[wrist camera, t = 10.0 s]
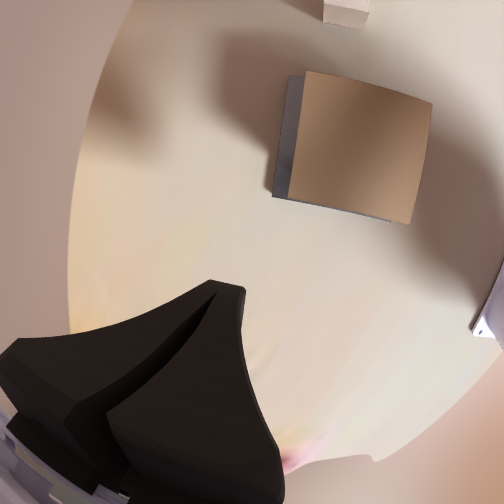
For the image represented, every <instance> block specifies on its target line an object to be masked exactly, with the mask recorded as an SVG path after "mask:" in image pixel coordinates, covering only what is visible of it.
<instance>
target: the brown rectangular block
mask: <svg viewBox="0 0 504 504" xmlns="http://www.w3.org/2000/svg"><path fill="white" fill-rule="evenodd" d="M431 112H432V104H431V103H428V102H425V101H423V100H420V99H417V98H414V97H412V96H409V95H406V94H403V93H400V92H396V91H393V90H390V89H387V88H383V87H380V86H376V85H372V84H369V83H365V82H361V81H357V80H352V79H348V78H343V77H339V76H334V75H329V74H323V73H317V72H311V71H306V76H305V84H304V92H303V99H302V106H301V113H300V121H299V127H298V134H297V141H296V148H295V154H294V161H293V167H292V174H291V180H290V186H289V192H288V198H291V199H296V200H302V201H307V202H312V203H317V204H322V205H326V206H331V207H336V208H340V209H345V210H350V211H354V212H358V213H363V214H367V215H371V216H375V217H380V218H384V219H388V220H392V221H396V222H400V223H403V224H407V225H409V224H410V220H411V216H412V213H413V209H414V205H415V201H416V197H417V193H418V188H419V184H420V179H421V175H422V170H423V165H424V159H425V154H426V148H427V142H428V135H429V128H430V121H431Z"/></svg>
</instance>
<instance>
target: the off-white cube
mask: <svg viewBox="0 0 504 504" xmlns="http://www.w3.org/2000/svg"><path fill="white" fill-rule="evenodd" d="M368 14H369V0H324V11H323V22H324V23H330V24H335V25H341V26H346V27H350V28H355V29H359V30H362V28H363V26H364V23H365V21H366V19H367V17H368Z"/></svg>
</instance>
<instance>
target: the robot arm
mask: <svg viewBox="0 0 504 504" xmlns="http://www.w3.org/2000/svg"><path fill="white" fill-rule="evenodd" d="M245 296H246V290H245V288H244V287H241V286H237V285H232V284H228V283H224V282H219V281H215V280H211V279H210V280H208V281H206V282H204V283H202V284H200V285H199V286H197V287H195V288H193V289H192V290H190V291H188V292H186V293H184V294H183V295H181V296H179V297H177V298H175V299H173V300H172V301H170V302H168V303H165V304H163V305H161V306H159V307H157V308H155V309H153V310H151V311H149V312H147V313H144V314H142V315H139V316H137V317H134V318H132V319H129V320H126V321H123V322H120V323H117V324H114V325H110V326H107V327H103V328H99V329H95V330H91V331H87V332H82V333H76V334H71V335H63V336H55V337H43V338H42V337H41V338H18V339H17V340H16V341H14V342H13V343H12V344H11V345H10V346H9V347H8V348H7V349H6V350H5V351H4V352H3V353H2V354H1V355H0V386H1V388H2V389H3V391H4V392H5V394H6V395H7V397H8V398H9V399H10V401H11V402H12V403H13V405H14V406H15V408H16V409H17V410H18V412H17V413H16V415H15V416H14V417H13V418H11V417H10V416H9V415H8V414H7V413H6V412H5V411H4V410H3V409H2V408H1V407H0V504H63V503H62V502H60V501H59V500H57V499H56V498H54V497H53V496H52V495H50V494H49V493H50V491H51V490H52V488H53V487H54V486H53V484H52V483H51V482H50V481H48V480H47V479H46V478H45V477H43V476H42V475H41V474H40V473H39V472H37V471H36V470H35V469H34V468H33V467H31V466H30V465H29V464H28V463H27V462H26V461H24V460H23V459H22V458H21V457H20V456H19V455H18V454H17V453H16V451H15V444H16V445H17V446H18V447H19V448H21V450H22V451H23V452H25V453H26V454H27V455H28V456H29V457H30V458H31V459H32V460H34V461H35V462H36V463H37V464H38V465H40V466H41V467H42V468H43V469H44V470H46V471H47V472H48V473H50V474H51V475H52V476H53V477H55V478H56V479H58V480H59V481H60V482H62V483H63V484H64V485H66V486H67V487H69V488H70V489H72V490H73V491H74V492H76V493H78V494H79V495H81V496H82V497H84V498H85V499H87V500H88V501H90V502H92V503H93V504H282V503H283V501H284V497H285V482H284V474H283V467H282V462H281V457H280V452H279V448H278V446H277V444H276V442H275V440H274V438H273V436H272V434H271V432H270V430H269V428H268V426H267V424H266V422H265V420H264V417H263V415H262V412H261V410H260V408H259V405H258V402H257V399H256V396H255V393H254V390H253V387H252V384H251V381H250V378H249V374H248V370H247V366H246V362H245V357H244V351H243V345H242V336H241V326H242V319H243V311H244V304H245ZM472 334H473V335H474V336H481V337H491V338H496V339H497V341H498V342H499V344H500V346H501V347H502V349H503V351H504V262H503V265H502V267H501V270H500V272H499V275H498V277H497V280H496V282H495V284H494V287H493V289H492V291H491V293H490V295H489V298H488V300H487V302H486V304H485V306H484V308H483V310H482V312H481V314H480V316H479V318H478V320H477V321H476V323H475V325H474V327H473V329H472ZM14 443H15V444H14ZM119 493H121V494H123V495H125V496H127V497H130V499H129V500H128V499H126V498H124V497H122V496H120V495H118V494H119Z"/></svg>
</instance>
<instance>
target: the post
mask: <svg viewBox="0 0 504 504" xmlns="http://www.w3.org/2000/svg"><path fill="white" fill-rule="evenodd" d="M304 84H305V77H299V76H291V75H289V77H288V84H287V92H286V99H285V107H284V114H283V121H282V129H281V136H280V143H279V150H278V157H277V164H276V171H275V178H274V185H273V192H272V197H275V198H281V199H286V200H292V201H297V202H302V203H307V204H312V205H317V206H322V207H327V208H332V209H337V210H341V211H346V212H350V213H355V214H359V215H364V216H368V217H372V218H377V219H381V220H385V221H389V222H391V220H388V219H384V218H380V217H375V216H371V215H367V214H363V213H358V212H354V211H350V210H345V209H340V208H336V207H331V206H326V205H322V204H317V203H312V202H307V201H302V200H296V199H291V198H288V192H289V186H290V180H291V174H292V167H293V161H294V154H295V148H296V141H297V134H298V127H299V121H300V113H301V106H302V99H303V92H304Z"/></svg>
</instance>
